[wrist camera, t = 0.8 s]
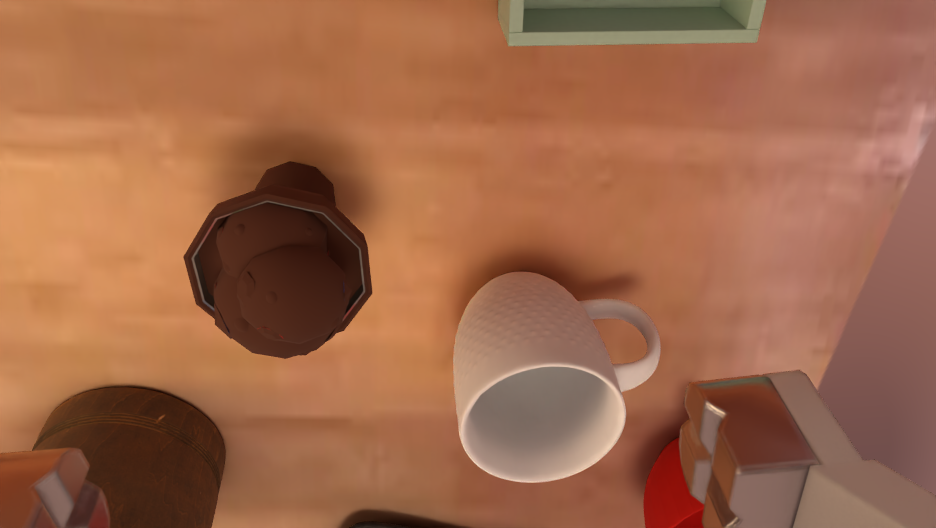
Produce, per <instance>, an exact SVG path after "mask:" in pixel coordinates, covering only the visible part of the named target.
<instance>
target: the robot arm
mask: <svg viewBox="0 0 936 528" xmlns="http://www.w3.org/2000/svg"><path fill="white" fill-rule="evenodd" d="M684 406H685V408H686V410H687V413H688V415H689V417H690V418H689V419H688V420H687V421H686V422H685V423H684V424H683V425H682V426H681V427H680V438H679V451H680V461H681V467H682V471H683V475H684V478H685V481H686V484H687V486H688V489H689V492H690V494H691V495H692V496H693V497H694V498H696V499H697V500H698V501H700V502H701V503H702V504H704V510H703V516H702V525H703V527H704V528H936V495H934V494H932V493H931V492H929V491H927V490H926V489H924V488H922V487H921V486H919V485H917V484H916V483H914V482H912V481H910V480H909V479H907V478H905V477H903V476H902V475H900V474H898V473H897V472H895V471H894V470H892V469H890V468H888V467H887V466H885V465H883V464H882V463H880V462H878V461H876V460H875V459H874V460H863V459H862V457H861V456H860V455H859V453H858V452H857V450H856V448H855V447H854V445H853V444H852V442H851V441H850V440H849V438H848V436H847V435H846V433H845V432H844V430H843V429H842V427H841V426H840V424H839V423H838V421H837V420H836V418H835V417H834V415H833V414H832V412H831V411H830V409H829V408H828V406H827V405H826V403H825V402H824V400H823V399H822V397H821V396H820V394H819V393H818V391H817V390H816V388H815V387H814V385H813V384H812V382H811V381H810V379H809V378H808V376H807V375H806V374H805V373H803V372H802V371H800V370H795V371H786V372H777V373H768V374H763V375H751V376H743V377H734V378H725V379H716V380H708V381H699V382H690V383H689V385H688V387H687V388H686V391H685V398H684ZM89 468H90V465H89V463H88V461H87V459H86V458H85V456H84V454H83V452H82V451H81V449H77V448H60V449H47V450H35V451H22V452H10V453H0V528H110V512H109V507H108V502H107V499H106V497H105V495H104V493H103V491H102V489H101V488H100V487H98V486H96V485H95V484H93V483H91V482H90V481H88V480H86V479H85V478H86V475H87V473H88V470H89Z"/></svg>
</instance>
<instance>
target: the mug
mask: <svg viewBox="0 0 936 528" xmlns="http://www.w3.org/2000/svg"><path fill="white" fill-rule="evenodd" d="M605 318H614V319H621V320H624V321H627V322H629V323H631V324H633V325H634V326H635V327H637V328H638V329H639V330H640V332H641V333H642V335H643V336H644V337H645V339H646V342H647V353H646V355H645V356H644V357H643V358H642V359H640V360H638V361H635V362H632V363H626V364H612V363H611V361H610V357H609V354H608V352H607V350H606V348H605V344H604V342H603V341H602V339H601V337H600V334H599V331H598V330H597V329H596V327H595V326H594V323H593V321H592V320H594V319H605ZM455 339H456V340H455V345H454V356H453V364H454V369H453V374H454V388H455V401H456V412H457V417H458V426H459V434H460V439H461V442H462V445H463V448H464V450H465V452H466V453H467V455H468V456H469V458H470V459H471V460H472V461H473V462H474V463H475V464H476V465H477V466H479V467H480V468H481V469H483V470H484V471H486V472H488V473H489V474H492V475H494V476H496V477H499V478H502V479H506V480H510V481H516V482H547V481H553V480H558V479H562V478H565V477H569V476H571V475H574V474H577V473H579V472H581V471H583V470H585V469H587V468H589V467H590V466H592V465H593V464H595V463H596V462H598V461H599V460H600V459H601V458H602V457H604V456H605V455H606V454H607V453H608V452H609V451H610V450H611V449H612V447H613V446H614V445H615V444H616V442H617V441H618V439H619V437H620V435H621V433H622V431H623V428H624V425H625V419H626V408H625V403H624V399H623V396H622V393H621V392H623V391H627V390H630V389H632V388H635V387H637V386H639V385H640V384H642V383H643V382H645V381H646V380H647V379H648V378H649V377H650V376H651V375H652V374H653V372H654V371H655V369H656V367H657V365H658V362H659V357H660V338H659V334H658V331H657V329H656V327H655V325H654V323H653V321H652V320H651V318H650V317H649V316H648V315H647V314H646V313H645V312H644V311H643V310H642V309H641V308H639V307H638V306H636V305H634V304H632V303H631V302H627V301H623V300H617V299H593V300H584V301H577V300H576V299H575V298H574V296H573V295H572V294H571V293H570V292H568V291H567V290H566V289H565V288H564V287H563V286H561V285H559V284H558V283H557V282H556V281H553V280H551V279H549V278H547V277H545V276H543V275H540V274H537V273H532V272H510V273H506V274H503V275H500V276H498V277H496V278H494V279H492V280H491V281H489V282H488V283H486V284H485V285H484V286H483V287H482V288H481V289H480V290H479V291H478V292H477V293H476V294H475V295H474V297H473V298H472V299H471V300H470V302H469V304H468V305H467V306H466V308H465V311H464V313H463V315H462V317H461V321H460V323H459V325H458V331H457V334H456V336H455Z"/></svg>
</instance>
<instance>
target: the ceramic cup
mask: <svg viewBox="0 0 936 528" xmlns="http://www.w3.org/2000/svg"><path fill="white" fill-rule="evenodd" d="M679 438H680V437H679ZM679 438H676V439H675V440H673V441H672V442H670V443H669V444H668V445H667V446H666V447H665V448H664V449H663V450H662V452H661V454H660V456H659V457H658V459H657V460H656V462H655V464H654V465H653V467H652V469H651V472H650V474H649V476H648V479H647V483H646V488H645V493H644V518H645V526H646V528H704V527H703V525H702V516H703V510H704V504H702V503H701V502H700V501H698V500H697V499H696V498H694V497H693V496H692V495H691V494H690V492H689V489H688V486H687V484H686V481H685V478H684V475H683V471H682V467H681V461H680V451H679Z"/></svg>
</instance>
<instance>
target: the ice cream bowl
mask: <svg viewBox="0 0 936 528" xmlns="http://www.w3.org/2000/svg"><path fill="white" fill-rule="evenodd" d="M335 206H336V205H335V197H334V189H333V184H332V183H331V182H330V181H329V180H328V179H327V178H326V177H325V176H324V175H323V174H322V173H321V172H320V171H319V170H318V169H317V168H316V167H312V166H307V165H303V164H299V163H294V162H288V163H285V164H282V165H279V166H276V167H274V168H271V169H268V170H267V171H266V172H265V174H264V175H263V177H262V179H261V180H260V182H259V183H258V185H257V187H256V188H255V191H252V192H249V193H246V194H244V195H241V196H238V197H235V198H232V199H229V200H227V201H224V202H221V203H219V204H217V205H216V207H215V208H214V209H213V210H212V211H211V212H210V213H209V215H208V217H207V218H206V220H205V222H204V223H203V225H202V227H201V228H200V230H199V232H198V233H197V235H196V237H195V238H194V240H193V242H192V243H191V245H190V247H189V248H188V250H187V252H186V254H185V255H184V260H185V264H186V268H187V272H188V275H189V279H190V283H191V287H192V290H193V294H194V298H195V302H196V304H197V305H198V306H199V307H201V308H202V309H203V310H204V311H206V312H207V313H208V314H209V315H211V316H212V317H213V318H214V319H215V325H216V326H217V327H218V328H219V329H221V330H222V331H223V332H224V333H225V334H226V335H227V336H228V337H229V338H233V339H234V340H235V341H237V342H238V343H240V344H241V345H242V346H244V347H245V348H246V349H248V350H249V351H251V352H252V353H256V354H262V355H268V356H274V357H280V358H285V359H286V358H290V357H293V356H297V355H307V354H308V353H310V352H311V351H314V350H317V349H318V348H319V347H320V346H322V345H323V344H324V343H325V342H326V341H328V340H330V339H331V338H332V337H333V336H334V335H335V334H336V333H338V332H341V331H344V330H345V328H346V327H347V326H348V325H349V323H350V322H351V321H352V319H353V318H354V317H355V315H356V314H357V313H358V311H359V310H360V309H361V307H362V306H363V305H364V304H365V302H366V301H367V300H368V298H369V297H370V296H371V294H372V285H371V276H370V266H369V256H368V247H367V243H366V240H365V237H364V234H363V233H362V232H361V231H360V230H358V229H357V228H356V227H355V226H354V225H353V224H352V223H351V222H350V221H349V220H348V219H347V218H346V217H345V216H344V215H343V214H342V213H341V212H340V211H339V210H338V209H337V208H336V207H335Z"/></svg>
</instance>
